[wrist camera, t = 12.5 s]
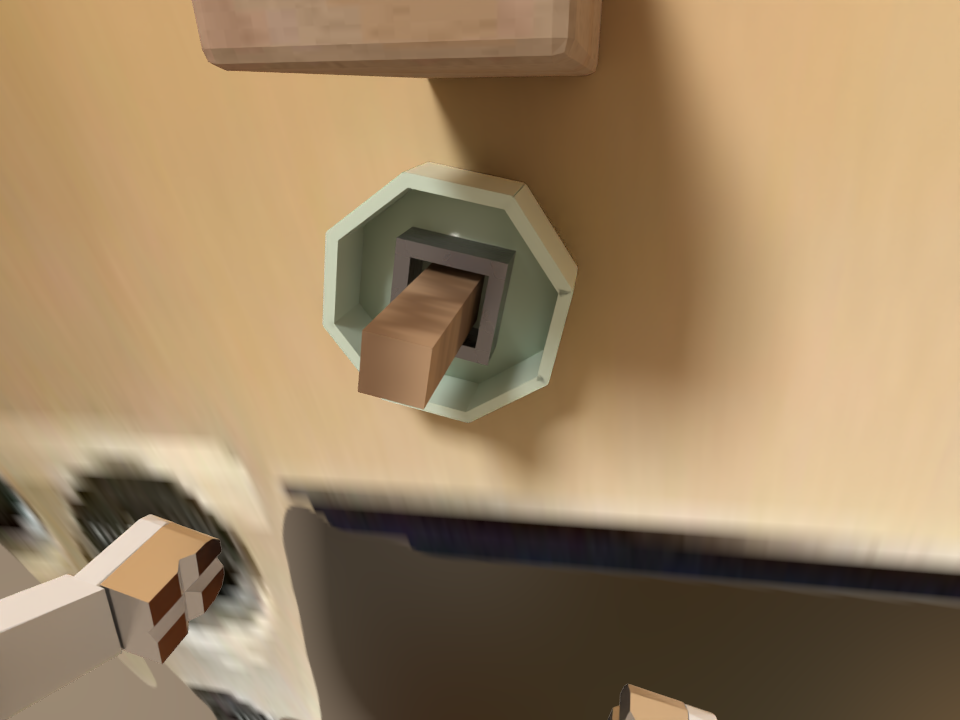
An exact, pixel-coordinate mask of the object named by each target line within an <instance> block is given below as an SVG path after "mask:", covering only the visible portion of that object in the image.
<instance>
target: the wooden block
mask: <svg viewBox="0 0 960 720" xmlns="http://www.w3.org/2000/svg"><path fill="white" fill-rule="evenodd" d="M192 3H193V8H194V13H195V17H196V22H197V27H198V32H199V37H200V41H201V46H202V50H203V52H204V54H205V56H206V58H207V60H208V62H210V63H212V64H213V65H215V66H218V67H220V68H222V69H224V70H227V71H253V72H280V73H306V74H333V75H359V76H385V77H412V78H468V77H525V76H581V75H589V74H592V73H594V72H595V70H596V67H597V65H598V53H599V39H600V26H601V12H602V0H192Z"/></svg>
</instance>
